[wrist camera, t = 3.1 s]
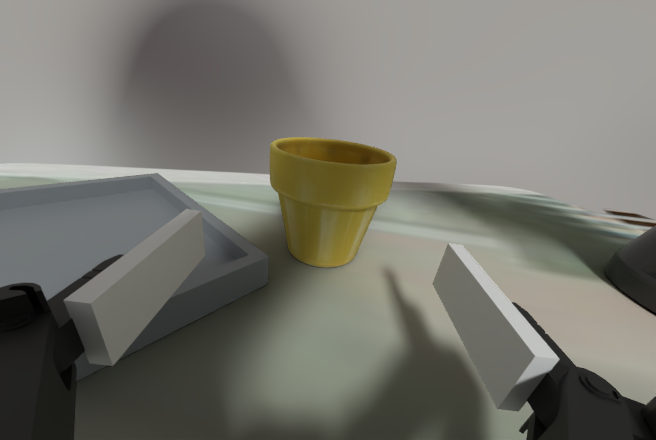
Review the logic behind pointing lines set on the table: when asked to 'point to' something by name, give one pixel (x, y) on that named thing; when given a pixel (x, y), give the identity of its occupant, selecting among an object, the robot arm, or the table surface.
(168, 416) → the table surface
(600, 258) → the table surface
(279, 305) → the table surface
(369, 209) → the plant pot
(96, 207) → the tray
